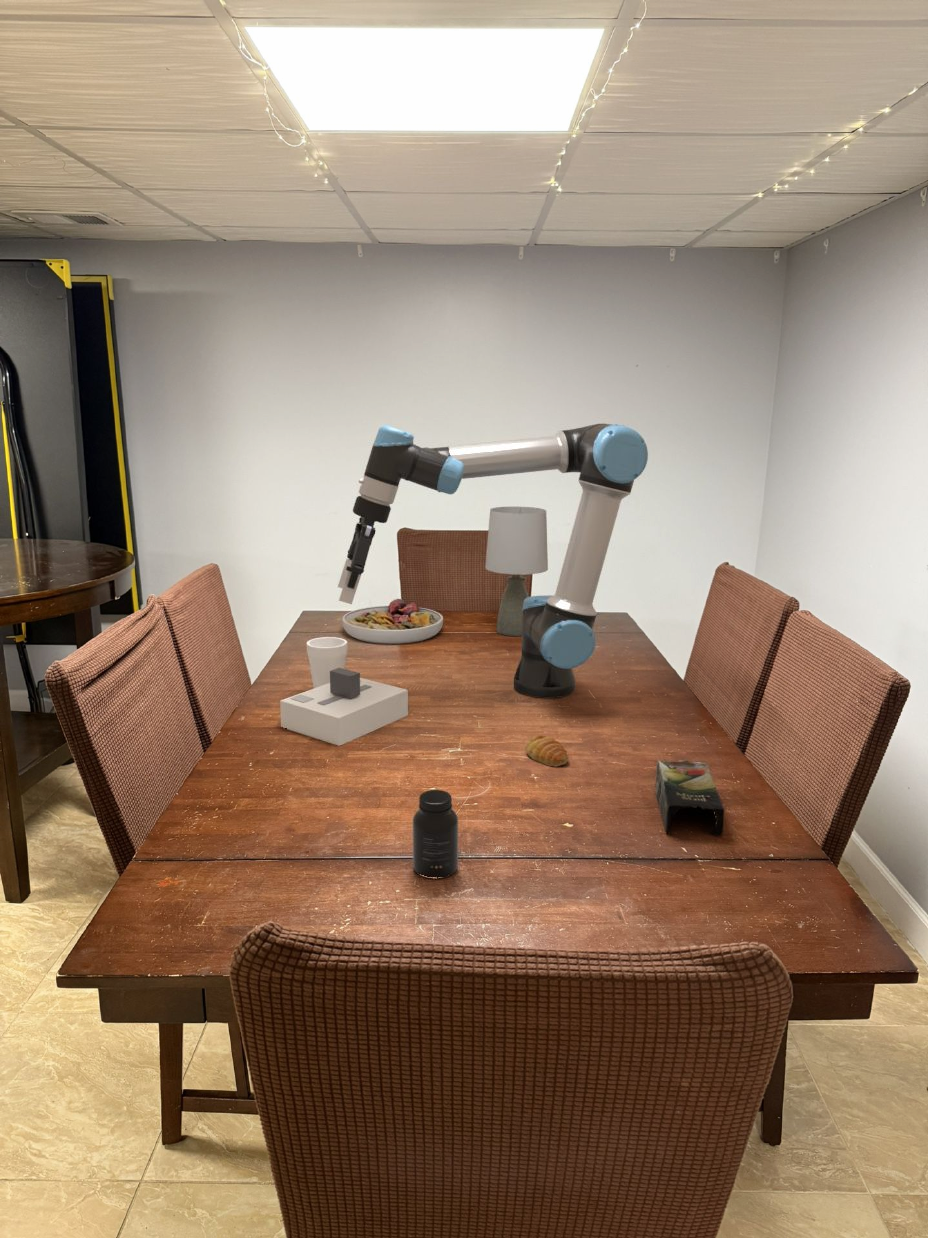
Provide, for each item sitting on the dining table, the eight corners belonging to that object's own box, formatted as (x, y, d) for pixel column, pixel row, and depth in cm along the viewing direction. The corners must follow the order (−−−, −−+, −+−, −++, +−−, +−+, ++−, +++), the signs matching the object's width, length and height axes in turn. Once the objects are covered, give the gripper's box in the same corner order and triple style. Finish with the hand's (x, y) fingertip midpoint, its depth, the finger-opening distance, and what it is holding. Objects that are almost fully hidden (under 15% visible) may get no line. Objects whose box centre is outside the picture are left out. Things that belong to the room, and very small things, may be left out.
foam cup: (340, 703, 203) (338, 649, 199) (302, 700, 204) (300, 646, 201) (353, 690, 212) (352, 638, 208) (316, 687, 213) (315, 635, 210)
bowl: (440, 648, 249) (441, 621, 247) (335, 646, 249) (334, 619, 247) (444, 621, 278) (444, 597, 276) (350, 620, 278) (349, 595, 276)
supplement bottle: (412, 858, 136) (412, 786, 133) (456, 856, 136) (457, 785, 133) (413, 881, 129) (413, 807, 126) (459, 880, 130) (460, 806, 127)
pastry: (577, 764, 172) (577, 746, 171) (549, 772, 168) (550, 753, 167) (548, 748, 179) (548, 730, 178) (521, 754, 176) (521, 737, 175)
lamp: (487, 622, 276) (490, 505, 267) (546, 625, 274) (551, 506, 264) (480, 638, 258) (482, 513, 249) (543, 641, 256) (548, 515, 246)
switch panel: (407, 715, 196) (407, 689, 194) (339, 746, 178) (338, 717, 177) (351, 699, 205) (350, 674, 204) (281, 727, 188) (280, 699, 186)
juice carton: (651, 783, 163) (653, 753, 162) (705, 787, 162) (708, 757, 161) (662, 837, 144) (666, 803, 143) (724, 842, 143) (728, 808, 142)
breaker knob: (360, 694, 190) (359, 672, 188) (350, 698, 187) (350, 676, 186) (339, 689, 193) (339, 667, 192) (330, 692, 191) (329, 670, 189)
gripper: (355, 488, 194) (327, 578, 198) (360, 501, 170) (327, 603, 174) (387, 499, 196) (358, 588, 200) (396, 513, 172) (364, 613, 176)
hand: (344, 595), depth 187 cm, fingers open, 13 cm apart
